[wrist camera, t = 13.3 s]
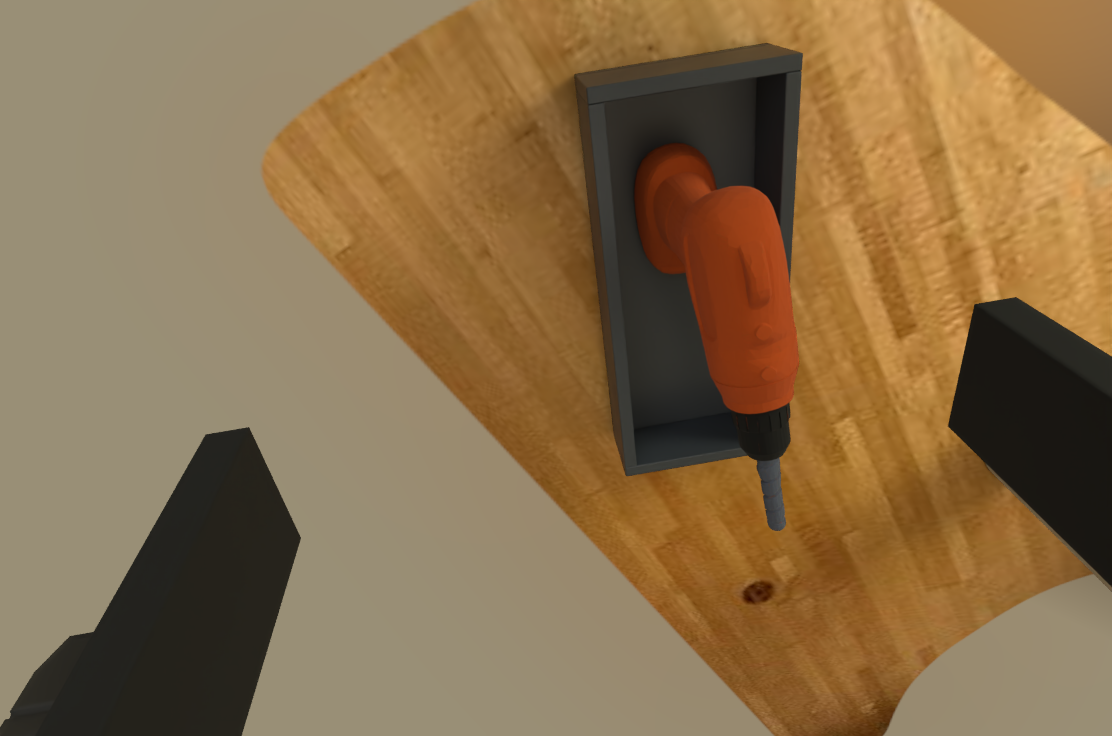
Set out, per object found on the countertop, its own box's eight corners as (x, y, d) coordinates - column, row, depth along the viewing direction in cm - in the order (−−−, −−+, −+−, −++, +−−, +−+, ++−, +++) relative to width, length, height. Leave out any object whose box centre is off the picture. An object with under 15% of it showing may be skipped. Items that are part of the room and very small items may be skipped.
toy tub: (573, 73, 36) (585, 87, 32) (767, 42, 36) (803, 52, 32) (613, 435, 49) (626, 477, 45) (756, 411, 49) (781, 450, 45)
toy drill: (678, 427, 47) (750, 578, 33) (620, 154, 39) (684, 202, 25) (747, 409, 46) (849, 553, 33) (702, 131, 39) (812, 166, 25)
